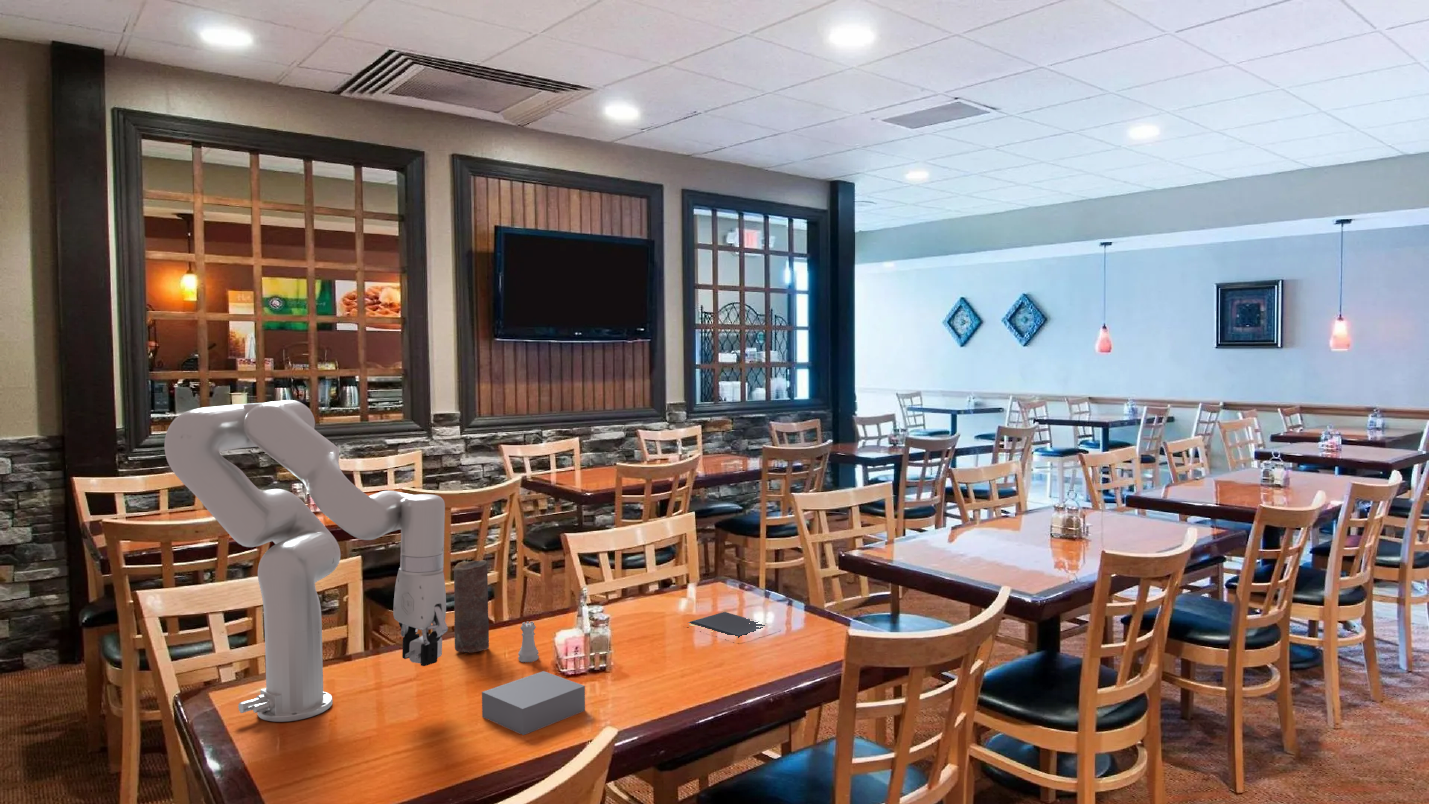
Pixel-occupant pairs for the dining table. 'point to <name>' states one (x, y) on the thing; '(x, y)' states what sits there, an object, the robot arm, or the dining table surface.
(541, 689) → the base block
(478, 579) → the dark brown rough pillar
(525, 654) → the rook chess piece
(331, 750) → the dining table surface
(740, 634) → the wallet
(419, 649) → the usb wall charger
